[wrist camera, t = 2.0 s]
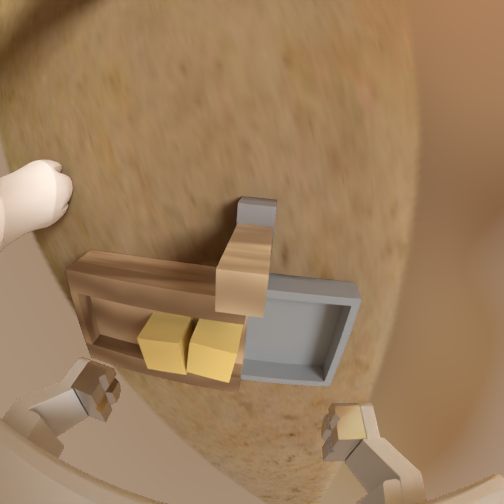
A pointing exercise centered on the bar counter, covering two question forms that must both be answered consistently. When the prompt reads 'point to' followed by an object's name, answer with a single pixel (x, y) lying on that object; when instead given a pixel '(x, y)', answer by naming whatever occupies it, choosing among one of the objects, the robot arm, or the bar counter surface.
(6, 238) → the water bottle
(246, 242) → the wooden post on base
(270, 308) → the tray
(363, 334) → the bar counter surface
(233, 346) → the pale yellow cube
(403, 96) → the bar counter surface
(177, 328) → the pale yellow block
